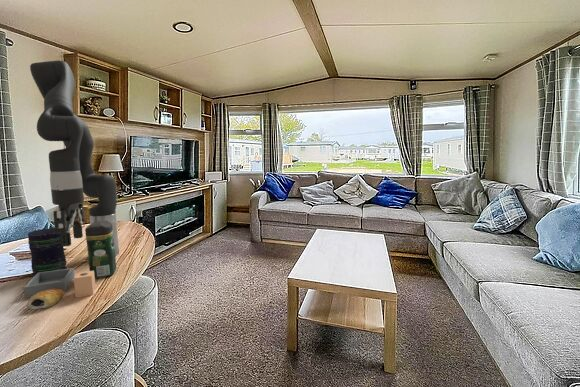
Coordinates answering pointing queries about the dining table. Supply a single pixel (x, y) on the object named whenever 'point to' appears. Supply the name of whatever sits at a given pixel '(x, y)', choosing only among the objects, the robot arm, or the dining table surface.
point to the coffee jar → (101, 248)
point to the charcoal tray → (49, 281)
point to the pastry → (45, 298)
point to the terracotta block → (84, 283)
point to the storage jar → (46, 251)
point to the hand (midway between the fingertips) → (72, 241)
